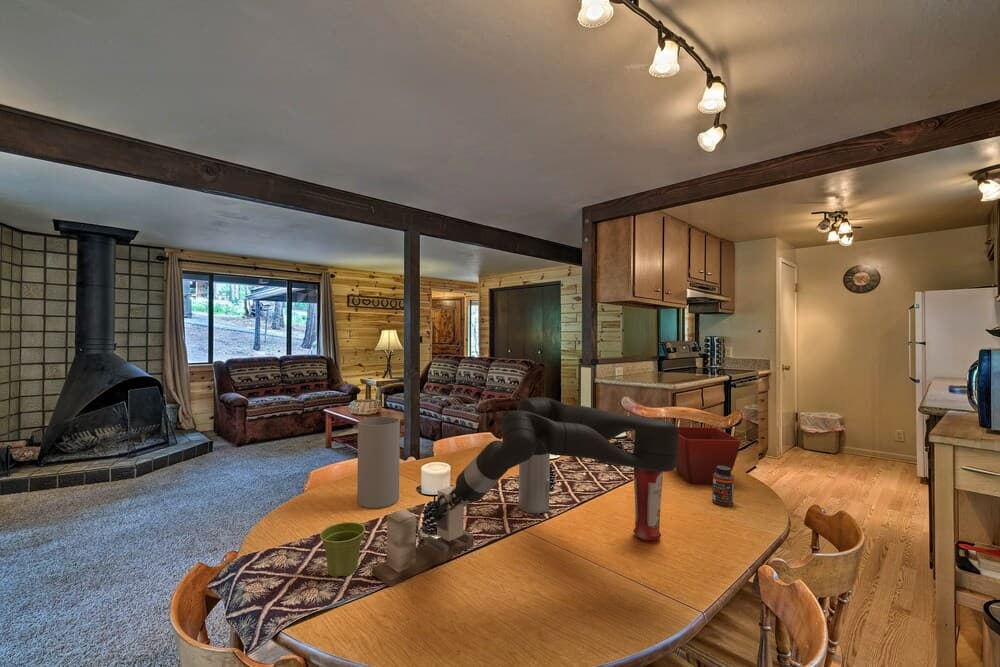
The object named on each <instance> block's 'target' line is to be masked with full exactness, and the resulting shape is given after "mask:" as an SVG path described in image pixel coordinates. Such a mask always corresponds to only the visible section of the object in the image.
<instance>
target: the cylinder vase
mask: <svg viewBox="0 0 1000 667" xmlns="http://www.w3.org/2000/svg"><path fill="white" fill-rule="evenodd" d="M400 422H401V419H400V418H398V417H393V416H373V417H366V418H362V419H359V420H358V421H357V474H356V475H357V478H356V479H357V483H356V484H357V486H356V487H357V489H356V490H357V491H356V493H357V495H356V497H357V498H356V500H357V504H358V505H359V506H361V507H362V508H366V509H383V508H388V507H390V506H393V505H394V504H396V503H397V502H398V501H399V498H400V463H401V462H400V457H401V456H400V453H401V452H400V451H401V450H400V448H401V447H400V446H401V442H400V440H401V439H400V436H401V435H400V434H401V423H400Z"/></svg>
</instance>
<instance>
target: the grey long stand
mask: <svg viewBox="0 0 1000 667" xmlns="http://www.w3.org/2000/svg"><path fill="white" fill-rule="evenodd" d="M473 546H474V534H473V533H471V532H470V531H468V530H465V529H463V535H462V536H460V537H458V538H455V539H453V540H451V541H447V540H445V539H443V538H442V537H440V536H438V538H435V537H432V536H431V535H429V536H426V537H424V544H421V545H420V546H417V514H415V513H413V512H411V511H409V510H406V509H405V508H404V509H401V510H398V511H395V512H391V513H389V514H387V515H386V561H383V562H381V563H379V564H377V565H375V566H372V567H371V568H372V569H371V570H372V571H371V572H372V576H374V577H376V579H378V580H380V581H381V582H382V583H384V584H385V585H387V586H388V587H390V588H392V587H394V586H395V585H396V586H397V585H398V584H400V583H402V582H404V581H406V580H408V579H410V578H412V577H414V576H416V575H417V574H420V573H422V572H424V571H425V570H428V569H430V568H432V567H434V566H436V565H438V564H440V563H442V562H444V561H446V560H449V559H450V558H452V557H453V556H456V555H457V554H460V553H462V552H464V551H465V550H468V549H471V548H472V547H473Z"/></svg>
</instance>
